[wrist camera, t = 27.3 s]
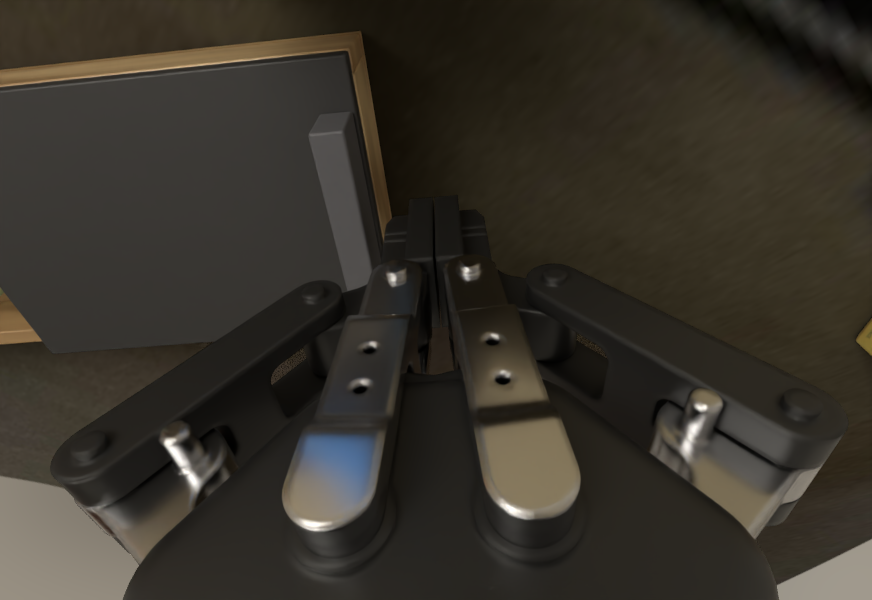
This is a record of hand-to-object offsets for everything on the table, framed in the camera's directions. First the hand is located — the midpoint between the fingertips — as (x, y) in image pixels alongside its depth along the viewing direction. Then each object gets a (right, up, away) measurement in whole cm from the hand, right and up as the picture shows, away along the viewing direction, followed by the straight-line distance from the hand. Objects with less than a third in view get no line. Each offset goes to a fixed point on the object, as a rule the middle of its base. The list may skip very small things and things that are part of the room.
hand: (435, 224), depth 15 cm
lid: (-9, 0, +2) cm, 9 cm away
